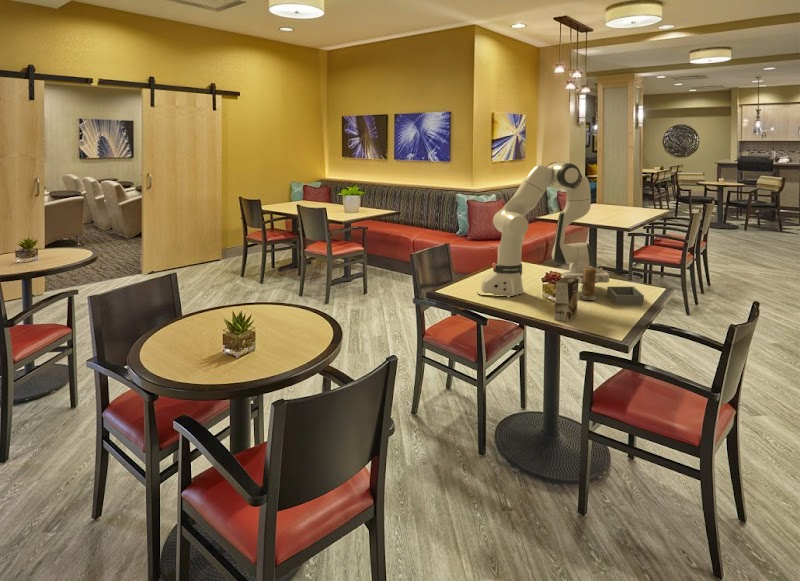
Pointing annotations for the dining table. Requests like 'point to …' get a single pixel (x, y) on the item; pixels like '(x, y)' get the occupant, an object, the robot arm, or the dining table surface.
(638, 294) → the tray
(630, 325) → the dining table surface
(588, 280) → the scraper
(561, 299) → the coffee box
